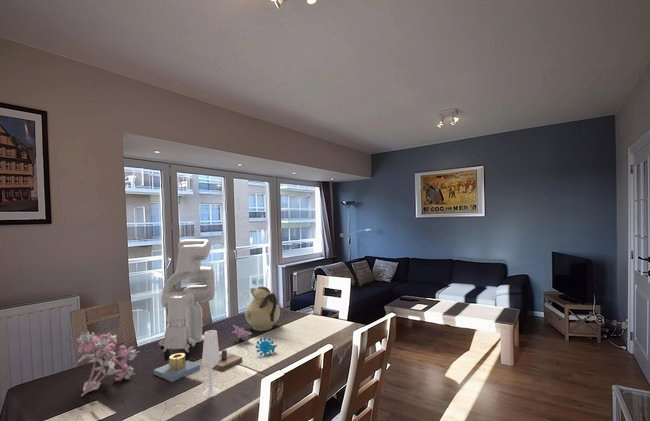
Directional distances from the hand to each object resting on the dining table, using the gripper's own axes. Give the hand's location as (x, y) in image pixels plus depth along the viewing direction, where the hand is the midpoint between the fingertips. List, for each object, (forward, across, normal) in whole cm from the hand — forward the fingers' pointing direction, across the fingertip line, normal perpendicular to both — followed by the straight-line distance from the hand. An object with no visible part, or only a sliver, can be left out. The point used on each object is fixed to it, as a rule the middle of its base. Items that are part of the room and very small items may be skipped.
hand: (177, 359), depth 147 cm
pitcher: (+6, +26, +61) cm, 67 cm away
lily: (+6, +18, +37) cm, 42 cm away
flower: (+6, -23, -11) cm, 26 cm away
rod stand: (+5, +19, +8) cm, 21 cm away
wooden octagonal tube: (+3, 0, 0) cm, 3 cm away
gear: (+6, +37, +20) cm, 42 cm away
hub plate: (+5, 0, 0) cm, 5 cm away
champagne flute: (+5, +23, -18) cm, 30 cm away
